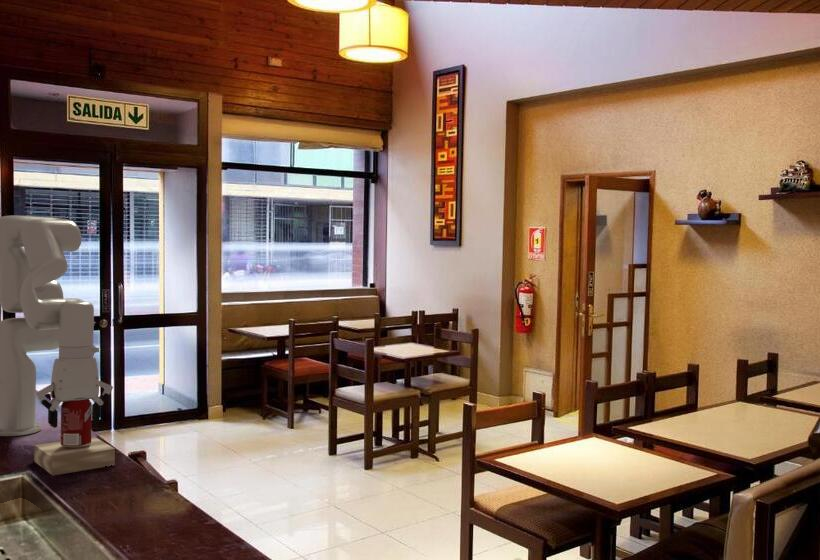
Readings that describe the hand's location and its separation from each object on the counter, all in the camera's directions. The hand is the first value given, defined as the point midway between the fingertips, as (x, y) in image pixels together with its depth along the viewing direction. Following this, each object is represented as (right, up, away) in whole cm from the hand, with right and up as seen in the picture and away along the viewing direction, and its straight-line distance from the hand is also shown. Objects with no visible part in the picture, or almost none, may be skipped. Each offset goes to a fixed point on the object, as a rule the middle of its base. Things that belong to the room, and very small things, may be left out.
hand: (75, 423), depth 177 cm
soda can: (0, -6, +1) cm, 6 cm away
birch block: (0, -10, 0) cm, 10 cm away
